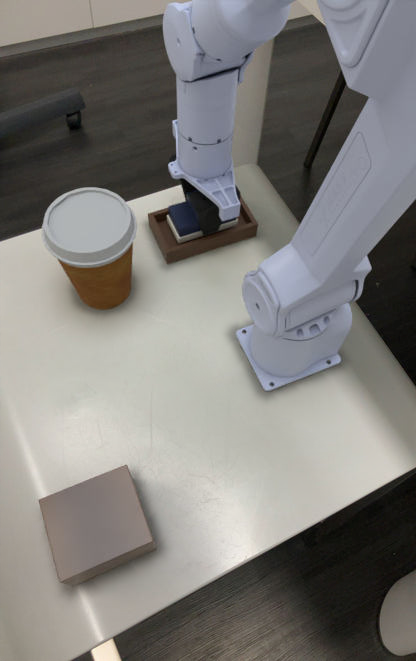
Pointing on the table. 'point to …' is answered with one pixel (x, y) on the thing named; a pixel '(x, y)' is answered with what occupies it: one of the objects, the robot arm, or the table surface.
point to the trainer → (190, 221)
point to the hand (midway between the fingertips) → (202, 217)
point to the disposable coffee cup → (93, 243)
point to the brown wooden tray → (204, 243)
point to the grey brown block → (96, 526)
